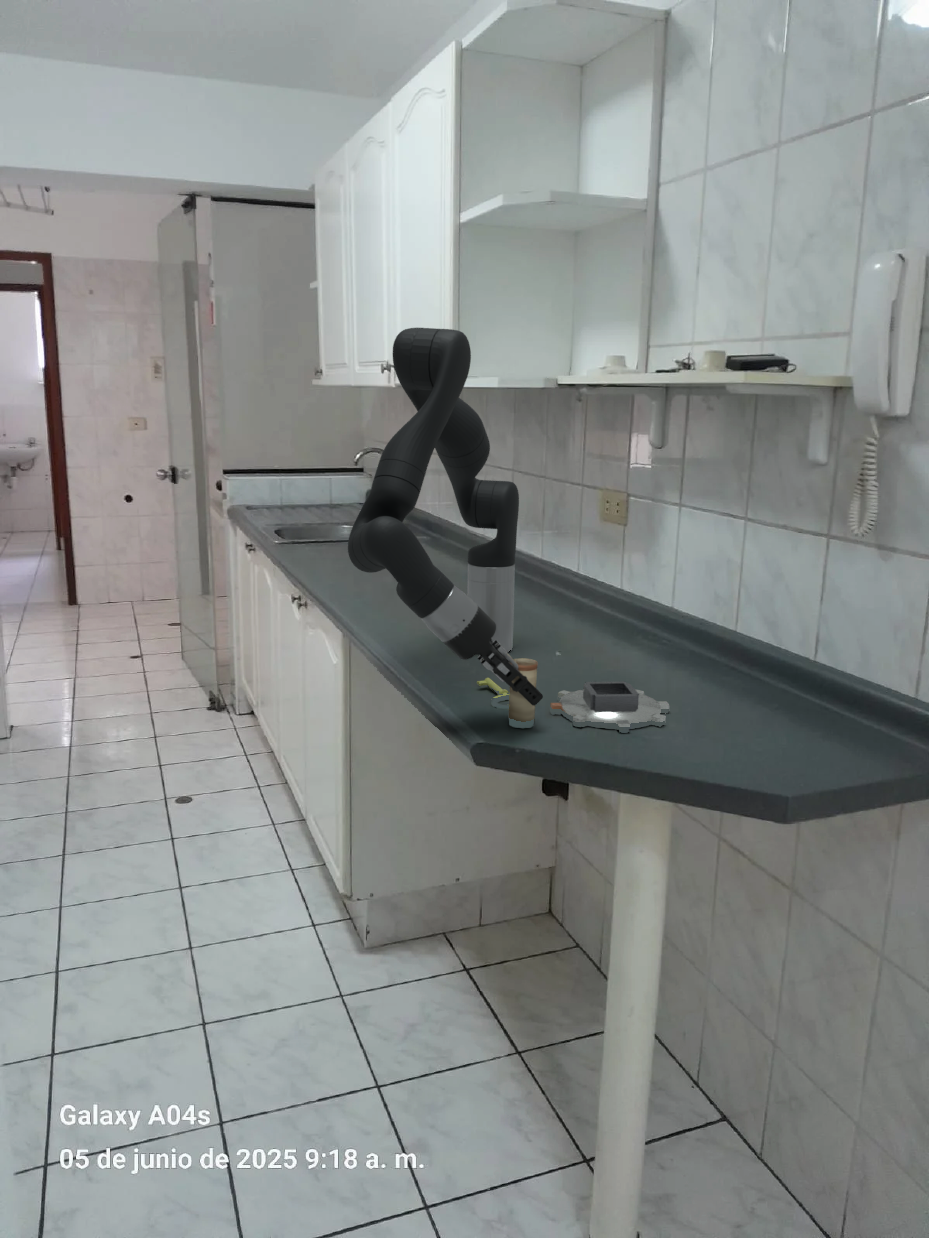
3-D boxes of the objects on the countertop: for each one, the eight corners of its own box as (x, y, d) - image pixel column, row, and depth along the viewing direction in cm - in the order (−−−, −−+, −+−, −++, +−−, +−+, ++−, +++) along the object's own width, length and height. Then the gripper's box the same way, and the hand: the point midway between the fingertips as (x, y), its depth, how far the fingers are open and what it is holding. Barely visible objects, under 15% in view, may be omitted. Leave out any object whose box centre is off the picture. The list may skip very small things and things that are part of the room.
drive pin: (506, 719, 148) (509, 658, 145) (532, 719, 148) (535, 658, 146) (509, 729, 144) (512, 665, 141) (536, 729, 144) (539, 665, 142)
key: (487, 687, 165) (487, 676, 164) (539, 705, 156) (539, 693, 156) (456, 696, 160) (456, 684, 160) (508, 715, 151) (508, 702, 151)
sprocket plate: (541, 694, 160) (541, 672, 159) (651, 693, 162) (652, 671, 161) (562, 734, 142) (563, 708, 141) (685, 732, 143) (687, 707, 143)
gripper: (485, 614, 133) (565, 693, 138) (467, 593, 147) (540, 665, 152) (447, 652, 134) (528, 729, 138) (433, 627, 147) (507, 698, 152)
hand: (534, 695), depth 145 cm, fingers closed on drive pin, 4 cm apart
